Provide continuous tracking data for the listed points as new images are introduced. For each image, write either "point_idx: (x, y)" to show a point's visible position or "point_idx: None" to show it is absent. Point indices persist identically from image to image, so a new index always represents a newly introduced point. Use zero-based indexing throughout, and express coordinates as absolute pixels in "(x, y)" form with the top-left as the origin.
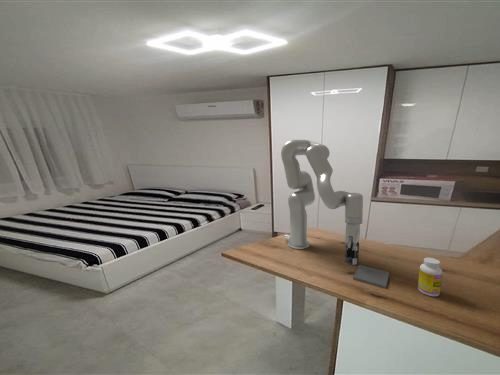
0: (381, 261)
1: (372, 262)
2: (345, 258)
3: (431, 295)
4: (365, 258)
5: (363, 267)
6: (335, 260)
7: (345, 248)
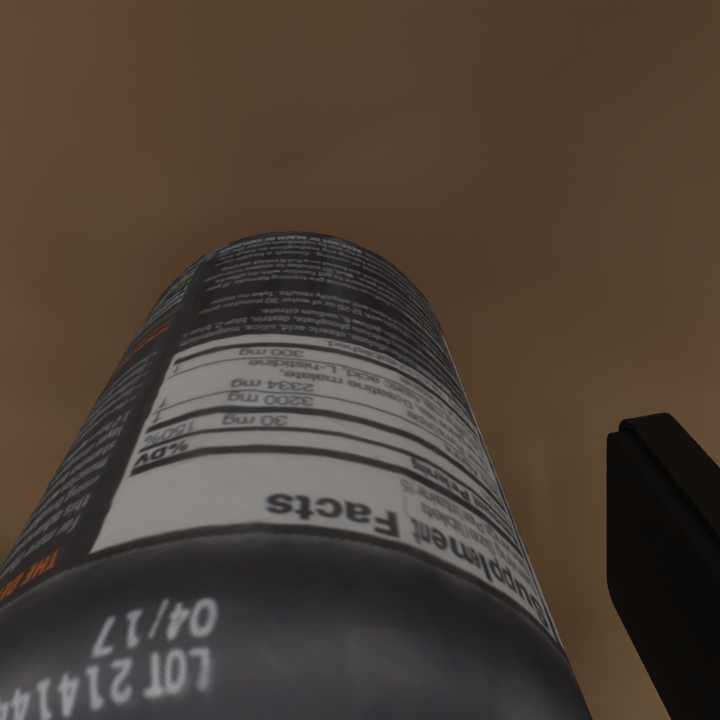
0: None
1: None
2: (153, 314)
3: None
4: None
5: None
6: (37, 6)
7: (72, 500)
